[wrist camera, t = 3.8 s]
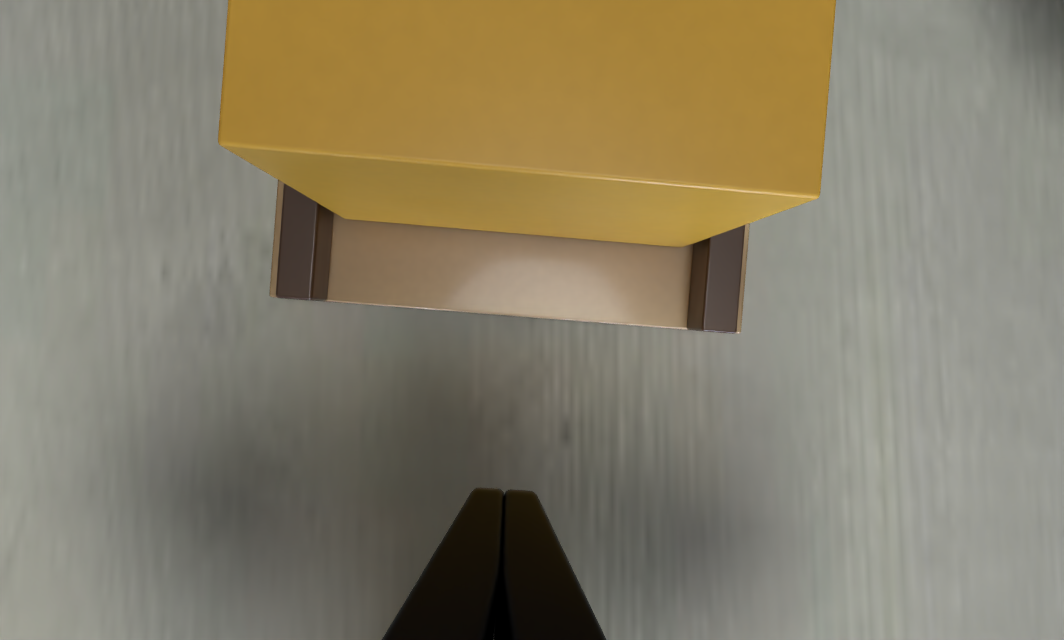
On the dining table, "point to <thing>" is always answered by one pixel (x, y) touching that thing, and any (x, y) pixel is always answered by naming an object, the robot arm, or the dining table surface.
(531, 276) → the maple track
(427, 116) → the ochre block
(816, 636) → the dining table surface
